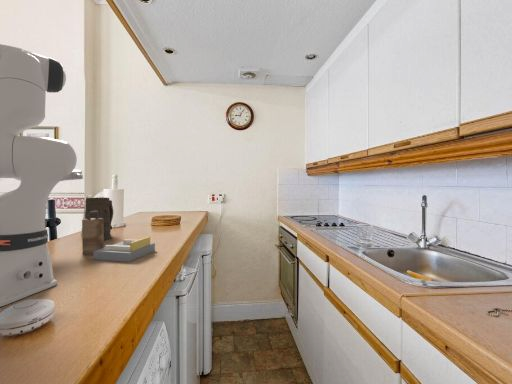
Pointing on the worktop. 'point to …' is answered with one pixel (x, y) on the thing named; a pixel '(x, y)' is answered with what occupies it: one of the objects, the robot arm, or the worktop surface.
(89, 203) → the beer stein
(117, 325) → the worktop surface
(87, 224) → the brown handled block
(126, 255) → the dock
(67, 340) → the worktop surface
